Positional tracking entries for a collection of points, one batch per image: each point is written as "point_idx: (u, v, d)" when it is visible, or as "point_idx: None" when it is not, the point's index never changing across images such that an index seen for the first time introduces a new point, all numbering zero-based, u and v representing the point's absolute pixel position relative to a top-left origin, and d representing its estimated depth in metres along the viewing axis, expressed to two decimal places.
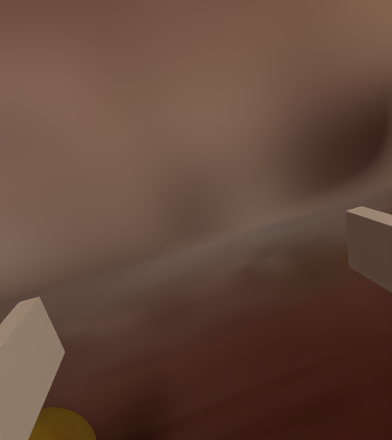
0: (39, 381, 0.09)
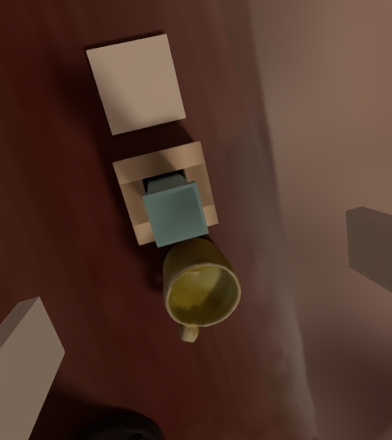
0: (40, 381, 0.09)
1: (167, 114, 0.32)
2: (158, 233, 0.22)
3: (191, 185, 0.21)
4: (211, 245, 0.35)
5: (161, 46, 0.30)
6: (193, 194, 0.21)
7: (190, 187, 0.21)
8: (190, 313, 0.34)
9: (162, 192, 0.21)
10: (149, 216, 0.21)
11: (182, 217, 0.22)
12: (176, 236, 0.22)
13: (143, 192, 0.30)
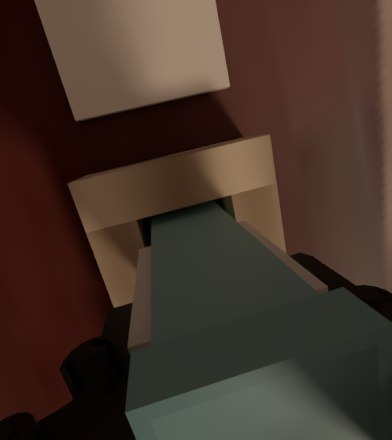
0: None
1: (193, 78, 0.15)
2: None
3: (369, 340, 0.04)
4: None
5: None
6: (369, 375, 0.05)
7: (361, 346, 0.04)
8: None
9: (230, 383, 0.04)
10: None
11: None
12: None
13: (140, 247, 0.14)
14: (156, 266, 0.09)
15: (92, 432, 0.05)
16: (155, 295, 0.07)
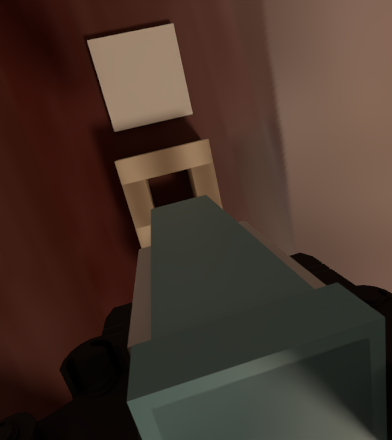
0: None
1: (173, 110, 0.30)
2: None
3: (361, 332, 0.04)
4: None
5: (167, 37, 0.28)
6: (361, 366, 0.05)
7: (354, 339, 0.05)
8: None
9: (227, 373, 0.04)
10: None
11: None
12: None
13: (147, 193, 0.29)
14: (156, 264, 0.09)
15: (92, 432, 0.05)
16: (155, 292, 0.07)
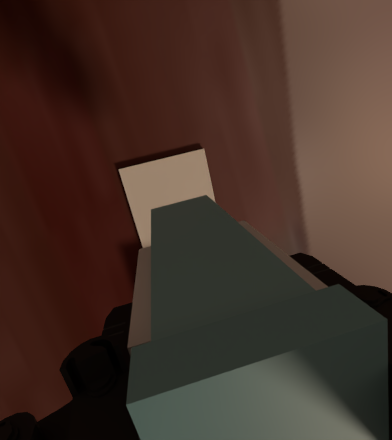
0: None
1: None
2: None
3: (363, 335, 0.04)
4: None
5: (198, 161, 0.28)
6: (363, 368, 0.05)
7: (356, 340, 0.05)
8: None
9: (228, 376, 0.04)
10: None
11: None
12: None
13: None
14: (156, 264, 0.09)
15: (92, 432, 0.05)
16: (155, 293, 0.07)
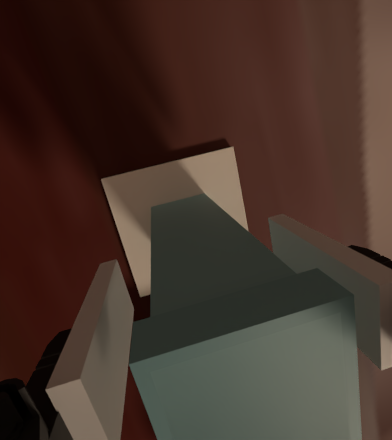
0: (126, 324, 0.11)
1: None
2: None
3: (333, 308, 0.05)
4: None
5: (224, 166, 0.18)
6: (334, 338, 0.05)
7: (327, 314, 0.05)
8: None
9: (216, 342, 0.05)
10: (159, 429, 0.05)
11: (282, 418, 0.06)
12: None
13: None
14: (155, 255, 0.10)
15: None
16: (154, 279, 0.08)
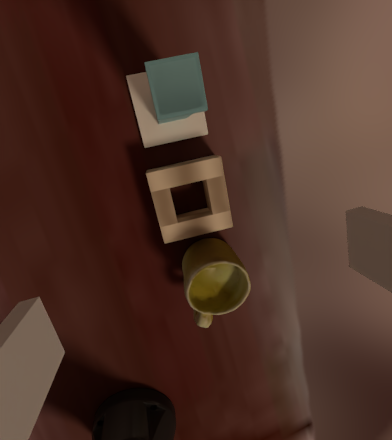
0: (40, 381, 0.09)
1: (192, 131, 0.37)
2: (159, 104, 0.22)
3: (192, 55, 0.22)
4: (225, 245, 0.40)
5: None
6: (194, 65, 0.22)
7: (192, 57, 0.22)
8: (205, 303, 0.39)
9: (164, 59, 0.21)
10: (150, 84, 0.22)
11: (182, 89, 0.22)
12: (176, 110, 0.23)
13: (170, 199, 0.35)
14: None
15: None
16: None
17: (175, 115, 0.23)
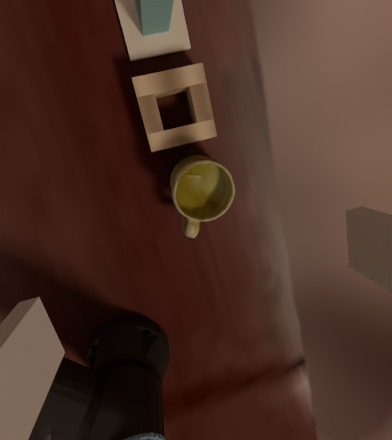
0: (40, 381, 0.09)
1: (176, 44, 0.39)
2: None
3: None
4: None
5: None
6: None
7: None
8: (193, 212, 0.41)
9: None
10: None
11: None
12: None
13: (155, 105, 0.37)
14: None
15: None
16: None
17: None
